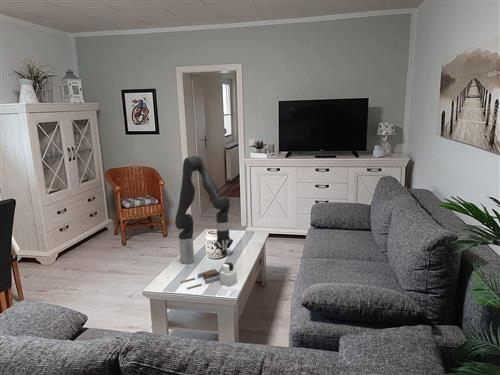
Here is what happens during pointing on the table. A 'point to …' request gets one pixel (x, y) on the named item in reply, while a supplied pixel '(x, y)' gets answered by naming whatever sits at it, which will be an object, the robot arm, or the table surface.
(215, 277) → the channel
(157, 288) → the table surface
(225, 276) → the medicine bottle
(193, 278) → the strips
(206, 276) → the block
